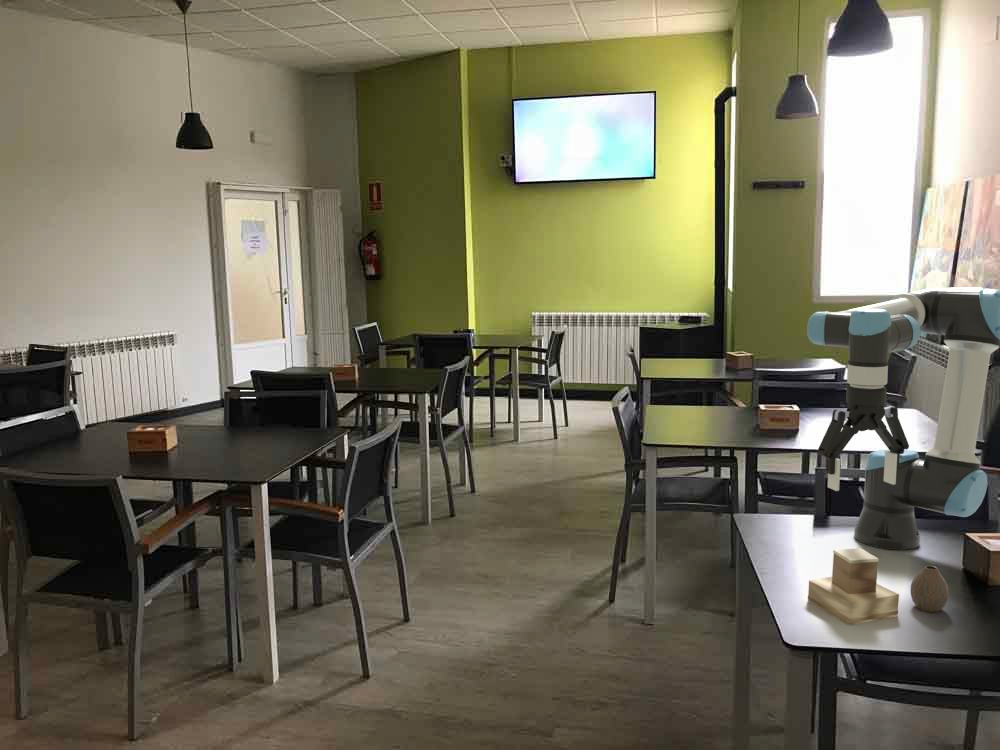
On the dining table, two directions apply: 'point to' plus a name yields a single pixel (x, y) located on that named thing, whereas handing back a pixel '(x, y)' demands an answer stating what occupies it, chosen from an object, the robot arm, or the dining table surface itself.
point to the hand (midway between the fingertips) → (861, 485)
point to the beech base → (853, 602)
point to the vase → (929, 590)
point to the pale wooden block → (854, 571)
